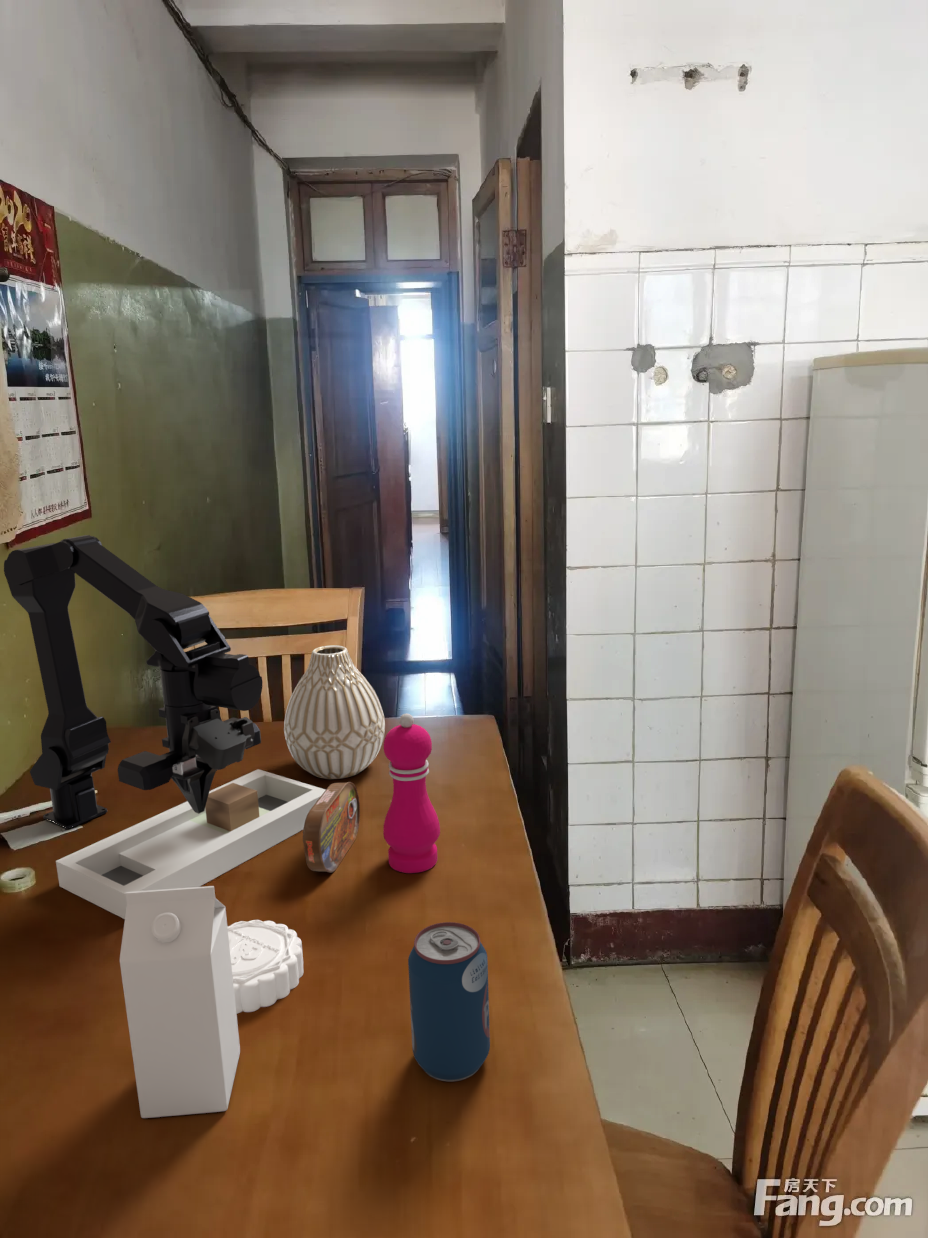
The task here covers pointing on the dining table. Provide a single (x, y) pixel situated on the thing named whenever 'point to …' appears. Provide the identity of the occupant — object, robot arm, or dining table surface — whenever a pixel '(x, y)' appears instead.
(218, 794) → the walnut block
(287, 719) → the vase
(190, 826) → the box
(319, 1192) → the dining table surface
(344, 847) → the tin
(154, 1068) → the milk carton
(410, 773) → the pepper mill
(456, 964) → the soda can
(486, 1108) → the dining table surface
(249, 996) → the mooncake
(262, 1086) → the dining table surface
